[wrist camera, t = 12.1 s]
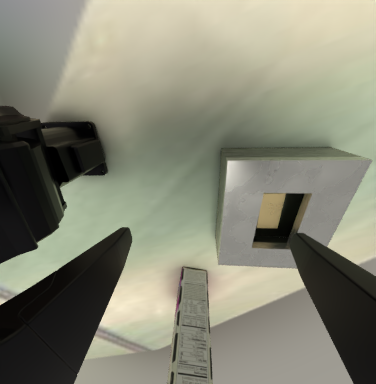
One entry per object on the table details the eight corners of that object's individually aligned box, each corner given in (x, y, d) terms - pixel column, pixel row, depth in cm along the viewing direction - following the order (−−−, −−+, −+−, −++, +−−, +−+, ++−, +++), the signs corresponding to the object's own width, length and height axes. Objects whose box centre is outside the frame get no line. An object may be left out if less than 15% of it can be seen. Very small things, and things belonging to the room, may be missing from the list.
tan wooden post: (250, 214, 23) (256, 228, 20) (254, 182, 21) (262, 193, 18) (268, 214, 23) (277, 228, 20) (275, 182, 20) (286, 193, 18)
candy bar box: (199, 302, 34) (197, 444, 20) (176, 299, 34) (158, 438, 20) (209, 269, 29) (216, 429, 15) (182, 265, 29) (162, 420, 15)
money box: (215, 237, 25) (218, 264, 21) (221, 148, 19) (227, 160, 14) (294, 240, 24) (315, 269, 20) (330, 147, 18) (372, 160, 13)
